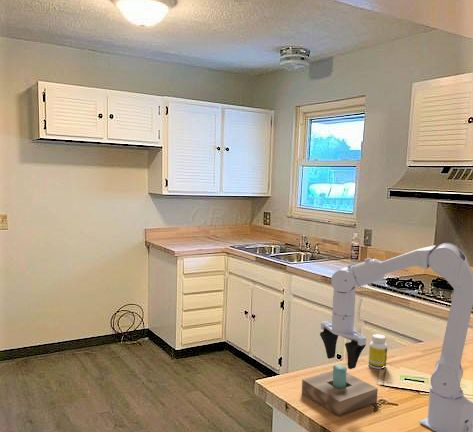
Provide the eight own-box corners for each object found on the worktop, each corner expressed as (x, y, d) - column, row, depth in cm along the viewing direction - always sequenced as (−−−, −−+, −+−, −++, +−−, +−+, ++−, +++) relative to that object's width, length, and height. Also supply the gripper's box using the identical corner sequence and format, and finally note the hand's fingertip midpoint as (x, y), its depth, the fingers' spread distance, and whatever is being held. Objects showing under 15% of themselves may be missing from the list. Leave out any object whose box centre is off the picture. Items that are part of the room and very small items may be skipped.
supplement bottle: (387, 370, 141) (388, 339, 141) (369, 368, 143) (370, 338, 142) (385, 363, 147) (386, 334, 146) (367, 361, 148) (369, 332, 147)
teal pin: (348, 397, 123) (349, 368, 122) (338, 400, 121) (340, 371, 120) (338, 392, 125) (339, 364, 125) (329, 395, 124) (330, 366, 123)
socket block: (376, 402, 121) (377, 388, 121) (338, 417, 113) (339, 401, 113) (338, 382, 133) (339, 368, 132) (301, 393, 125) (302, 379, 125)
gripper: (375, 318, 117) (372, 369, 118) (334, 304, 129) (332, 350, 130) (356, 322, 113) (353, 375, 115) (316, 307, 125) (314, 355, 127)
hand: (341, 362), depth 122 cm, fingers open, 7 cm apart
